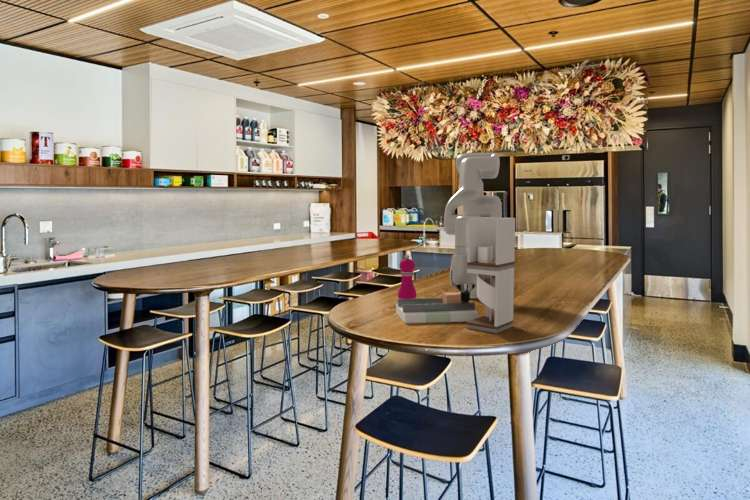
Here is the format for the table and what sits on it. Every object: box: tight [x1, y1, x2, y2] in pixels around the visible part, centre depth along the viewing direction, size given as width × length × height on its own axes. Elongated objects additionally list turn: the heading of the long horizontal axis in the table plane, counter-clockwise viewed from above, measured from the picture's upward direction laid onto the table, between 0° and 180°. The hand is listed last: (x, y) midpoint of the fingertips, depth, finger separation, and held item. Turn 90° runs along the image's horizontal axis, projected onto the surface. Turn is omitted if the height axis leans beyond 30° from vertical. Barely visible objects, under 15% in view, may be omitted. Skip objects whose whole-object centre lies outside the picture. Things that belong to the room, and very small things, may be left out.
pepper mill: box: [397, 254, 417, 299], centre depth 204 cm, size 7×7×20 cm
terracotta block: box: [442, 291, 461, 303], centre depth 187 cm, size 5×5×5 cm
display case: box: [465, 217, 516, 334], centre depth 169 cm, size 11×11×35 cm
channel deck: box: [395, 303, 479, 324], centre depth 186 cm, size 25×18×3 cm
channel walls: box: [397, 297, 476, 312], centre depth 186 cm, size 25×11×2 cm, turn 97°
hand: (465, 302), depth 187 cm, fingers closed
